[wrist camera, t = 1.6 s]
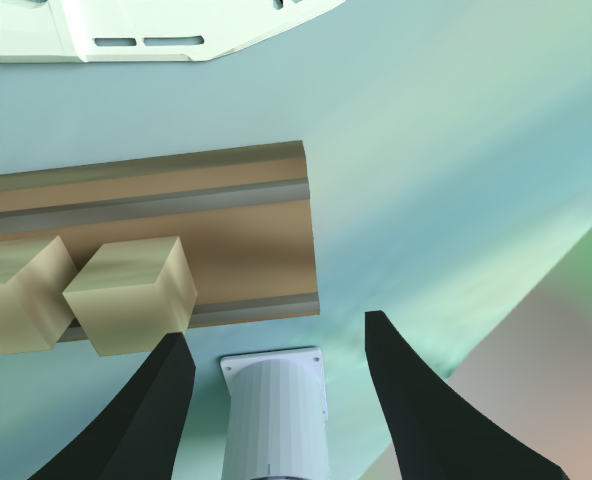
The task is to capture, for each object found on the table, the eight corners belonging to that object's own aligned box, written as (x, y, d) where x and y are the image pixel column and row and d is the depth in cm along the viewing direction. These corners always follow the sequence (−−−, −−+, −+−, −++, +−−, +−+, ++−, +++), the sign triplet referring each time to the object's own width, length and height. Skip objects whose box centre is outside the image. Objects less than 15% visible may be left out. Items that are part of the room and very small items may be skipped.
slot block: (315, 284, 24) (321, 323, 21) (4, 318, 24) (-38, 362, 21) (302, 140, 19) (306, 162, 15) (-93, 185, 19) (-170, 216, 16)
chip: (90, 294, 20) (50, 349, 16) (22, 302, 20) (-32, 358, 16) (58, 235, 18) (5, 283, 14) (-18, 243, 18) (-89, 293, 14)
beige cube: (197, 294, 20) (180, 348, 17) (130, 301, 20) (99, 356, 17) (178, 235, 18) (155, 282, 14) (103, 243, 18) (62, 293, 15)
